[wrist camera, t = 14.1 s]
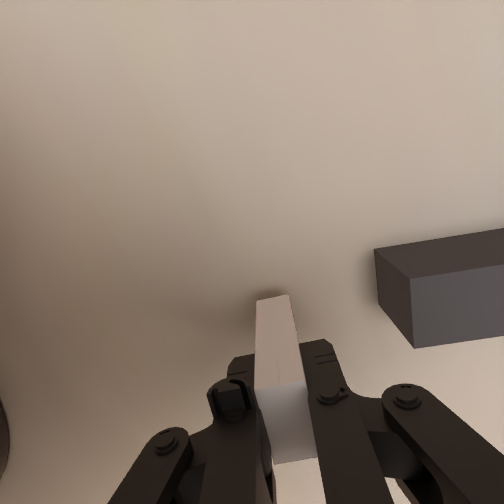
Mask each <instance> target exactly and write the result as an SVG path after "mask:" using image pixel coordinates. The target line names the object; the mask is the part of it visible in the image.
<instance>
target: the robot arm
mask: <svg viewBox="0 0 504 504" xmlns="http://www.w3.org/2000/svg"><path fill="white" fill-rule="evenodd" d="M207 398H208V401H209V405H210V408H211V411H212V414H213V417H214V419H213V424H211V425H210V426H209V427H207V428H205V429H203V430H201V431H199V432H197V433H195V434H192V435H190V436H189V435H188V432H187V431H186V430H185V429H184V428H180V427H173V428H168V429H165V430H163V431H161V432H159V433H157V434H156V435H155V436H153V437H152V438H151V439H150V440H149V442H148V443H147V444H146V445H145V447H144V448H143V450H142V451H141V453H140V455H139V456H138V458H137V459H136V461H135V462H134V464H133V465H132V467H131V468H130V470H129V471H128V473H127V474H126V476H125V478H124V479H123V481H122V482H121V484H120V485H119V487H118V488H117V490H116V491H115V493H114V494H113V496H112V497H111V499H110V501H109V502H108V504H277V501H276V480H275V476H274V472H273V469H272V458H273V462H274V465H275V464H281V463H286V462H292V461H298V460H304V459H309V458H315V457H318V460H319V466H320V471H321V477H322V482H323V487H324V493H325V498H326V504H394V502H393V499H392V497H391V494H390V491H389V489H388V486H387V483H386V481H385V478H384V477H388V478H395V480H396V482H397V484H398V486H399V487H400V489H401V490H402V491H403V493H404V494H405V495H406V497H407V498H408V500H409V501H410V502H411V504H504V455H503V454H502V453H501V452H499V451H498V450H497V449H496V448H495V447H493V446H492V445H491V444H490V443H489V442H488V441H486V440H485V439H484V438H483V437H482V436H481V435H479V434H478V433H477V432H476V431H475V430H474V429H472V428H471V427H470V426H469V425H468V424H467V423H465V422H464V421H463V420H462V419H461V418H460V417H458V416H457V415H456V414H455V413H454V412H452V411H451V410H450V409H449V408H448V407H447V406H445V405H444V404H443V403H442V402H441V401H440V400H438V399H437V398H436V397H435V396H434V395H433V394H431V393H430V392H429V391H428V390H426V389H424V388H423V387H421V386H417V385H414V384H398V385H393V386H391V387H389V388H387V389H386V390H385V391H384V393H383V394H382V398H368V397H363V396H360V395H357V394H356V393H354V392H352V391H351V390H350V388H349V387H348V386H347V384H346V381H345V378H344V376H343V373H342V370H341V368H340V365H339V362H338V360H337V357H336V354H335V351H334V349H333V346H332V344H330V343H329V342H328V341H326V340H325V339H321V340H315V341H310V342H305V343H300V344H299V340H298V335H297V331H296V326H295V322H294V317H293V313H292V308H291V304H290V300H289V295H288V294H286V295H281V296H277V297H272V298H267V299H262V300H258V301H256V334H255V354H250V355H245V356H240V357H235V358H234V359H233V360H232V362H231V363H230V364H229V366H228V372H227V378H226V379H223V380H220V381H219V382H217V383H215V384H214V385H213V386H212V387H211V388H210V389H209V391H208V393H207ZM271 454H272V458H271ZM7 457H8V431H7V425H6V421H5V417H4V414H3V411H2V408H1V406H0V479H1V477H2V474H3V472H4V469H5V466H6V462H7Z"/></svg>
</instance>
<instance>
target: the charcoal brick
mask: <svg viewBox="0 0 504 504" xmlns="http://www.w3.org/2000/svg"><path fill="white" fill-rule="evenodd" d="M374 254H375V265H376V277H377V288H378V299H379V305H380V307H381V308H382V309H383V310H384V312H385V313H386V314H387V315H388V317H389V318H390V319H391V320H392V322H393V323H394V324H395V325H396V327H397V328H398V329H399V330H400V332H401V333H402V334H403V335H404V337H405V338H406V339H407V340H408V342H409V343H410V344H411V345H412V347H413V348H414V349H416V348H423V347H430V346H437V345H444V344H451V343H457V342H464V341H471V340H478V339H485V338H492V337H499V336H504V228H502V229H496V230H489V231H483V232H477V233H471V234H464V235H458V236H452V237H446V238H439V239H433V240H427V241H421V242H415V243H408V244H402V245H396V246H390V247H383V248H377V249H374Z"/></svg>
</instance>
